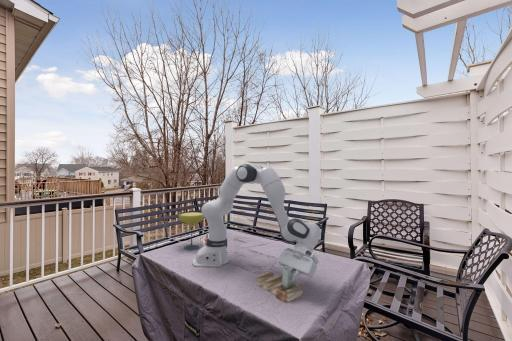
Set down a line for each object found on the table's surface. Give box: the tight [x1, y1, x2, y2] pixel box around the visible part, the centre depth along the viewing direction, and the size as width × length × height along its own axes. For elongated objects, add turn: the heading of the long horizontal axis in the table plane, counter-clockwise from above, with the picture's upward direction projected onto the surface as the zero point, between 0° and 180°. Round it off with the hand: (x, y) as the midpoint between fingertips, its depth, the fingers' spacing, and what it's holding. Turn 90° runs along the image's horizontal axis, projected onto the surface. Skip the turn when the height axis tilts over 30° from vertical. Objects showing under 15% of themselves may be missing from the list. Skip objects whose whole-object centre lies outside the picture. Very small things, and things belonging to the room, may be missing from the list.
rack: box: [256, 270, 304, 303], centre depth 122 cm, size 21×11×4 cm, turn 42°
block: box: [282, 266, 297, 291], centre depth 118 cm, size 3×6×10 cm, turn 132°
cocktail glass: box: [178, 210, 205, 251], centre depth 182 cm, size 18×18×25 cm
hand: (288, 278), depth 117 cm, fingers closed on block, 3 cm apart
